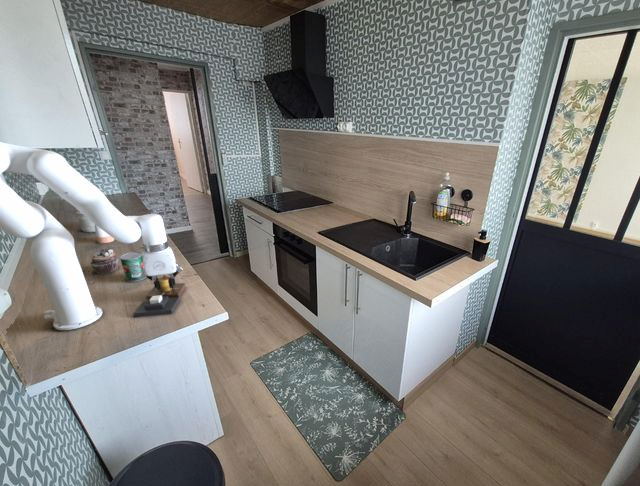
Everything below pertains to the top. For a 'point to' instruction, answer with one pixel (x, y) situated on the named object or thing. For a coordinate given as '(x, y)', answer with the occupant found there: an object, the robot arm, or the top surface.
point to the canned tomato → (133, 266)
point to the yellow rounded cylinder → (164, 284)
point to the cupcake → (104, 261)
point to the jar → (85, 223)
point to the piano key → (155, 299)
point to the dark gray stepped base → (157, 307)
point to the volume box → (172, 293)
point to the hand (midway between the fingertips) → (165, 287)
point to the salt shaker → (102, 235)
